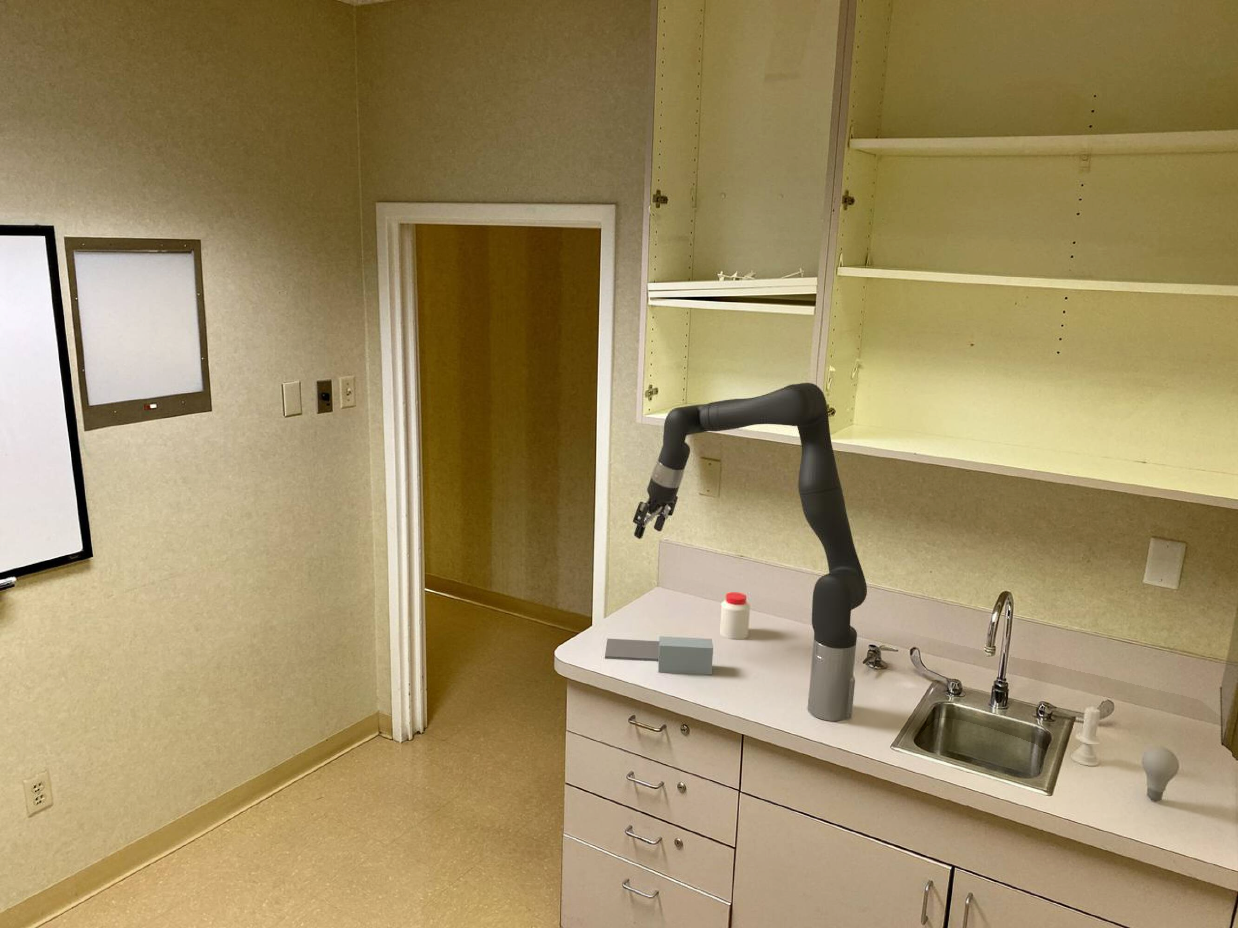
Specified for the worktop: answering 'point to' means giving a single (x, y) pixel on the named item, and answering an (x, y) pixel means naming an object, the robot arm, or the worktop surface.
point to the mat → (632, 649)
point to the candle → (1088, 738)
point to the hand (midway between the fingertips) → (647, 533)
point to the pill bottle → (734, 616)
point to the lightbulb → (1159, 770)
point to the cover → (685, 655)
